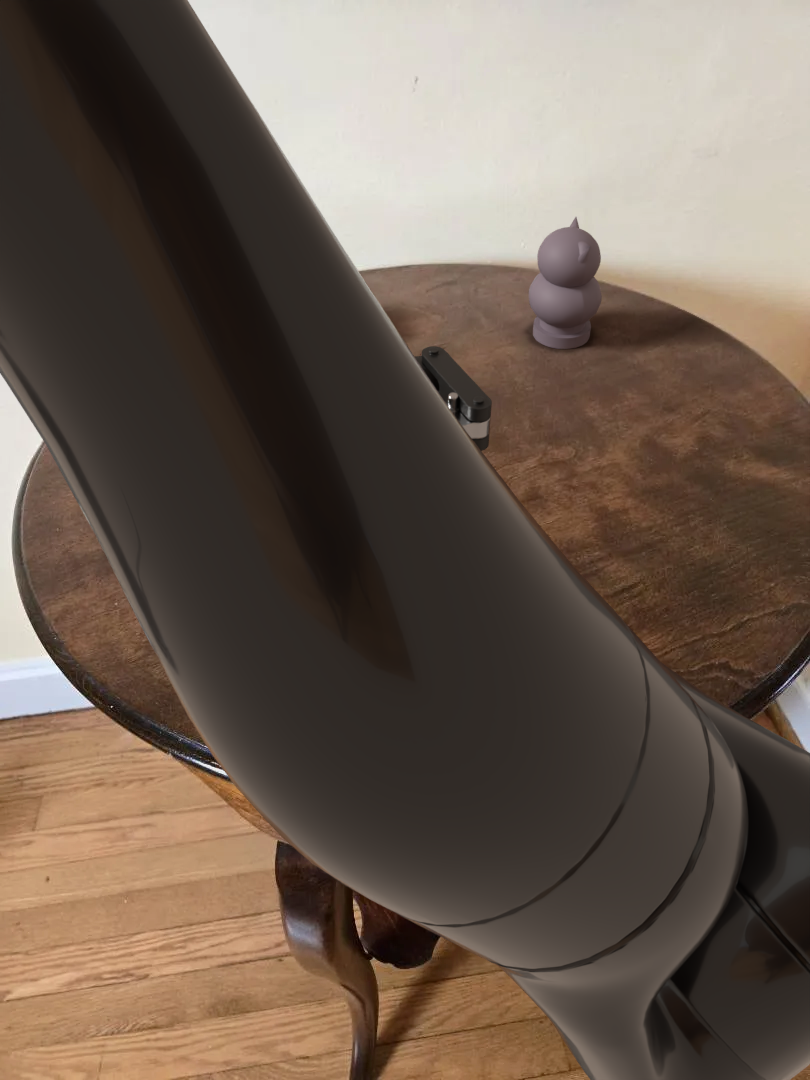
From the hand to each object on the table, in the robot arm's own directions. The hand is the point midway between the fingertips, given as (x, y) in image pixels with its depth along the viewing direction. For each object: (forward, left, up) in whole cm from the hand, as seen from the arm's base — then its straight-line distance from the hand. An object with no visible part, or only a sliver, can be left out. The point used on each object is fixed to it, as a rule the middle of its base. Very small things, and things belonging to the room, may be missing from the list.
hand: (276, 359), depth 44 cm
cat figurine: (+52, +9, -26) cm, 59 cm away
